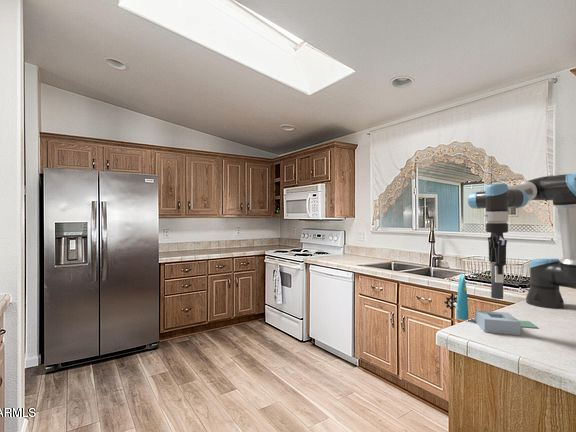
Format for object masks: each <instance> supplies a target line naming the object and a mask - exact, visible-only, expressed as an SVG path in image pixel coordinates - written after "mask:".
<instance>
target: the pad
mask: <svg viewBox="0 0 576 432" xmlns="http://www.w3.org/2000/svg"><path fill="white" fill-rule="evenodd" d="M519 321H520V328H526V329H527V328H528V329H539V327H538V326H537V325H536V324H534V323H533V322H531V321H530V320H529V321H528V320H519Z"/></svg>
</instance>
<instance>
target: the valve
mask: <svg viewBox="0 0 576 432" xmlns="http://www.w3.org/2000/svg"><path fill="white" fill-rule="evenodd" d="M445 299H446V300H445V301H444V304H445V308H447V309H450V310H454V308H455V309H456V307H457V296H456V297H455V296H454V295H449V297H445ZM449 304H450V305H449Z"/></svg>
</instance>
